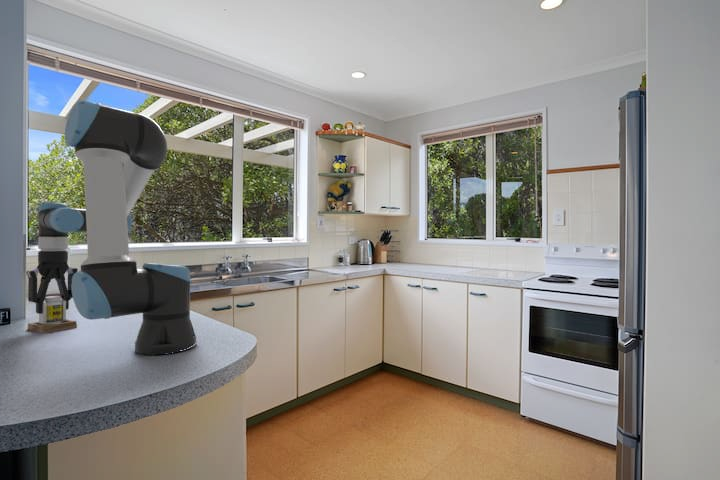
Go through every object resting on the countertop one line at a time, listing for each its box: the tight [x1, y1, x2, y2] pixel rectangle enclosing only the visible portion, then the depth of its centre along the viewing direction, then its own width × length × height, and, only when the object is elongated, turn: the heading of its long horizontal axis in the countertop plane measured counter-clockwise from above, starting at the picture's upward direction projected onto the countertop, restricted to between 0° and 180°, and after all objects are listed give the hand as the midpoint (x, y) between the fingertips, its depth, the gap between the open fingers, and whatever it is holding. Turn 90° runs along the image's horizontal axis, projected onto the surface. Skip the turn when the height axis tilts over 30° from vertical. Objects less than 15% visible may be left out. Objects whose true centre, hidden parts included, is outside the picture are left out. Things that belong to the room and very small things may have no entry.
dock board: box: [27, 318, 78, 334], centre depth 123 cm, size 10×9×2 cm
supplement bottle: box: [44, 295, 62, 324], centre depth 123 cm, size 5×5×8 cm
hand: (52, 321), depth 123 cm, fingers closed on supplement bottle, 5 cm apart
